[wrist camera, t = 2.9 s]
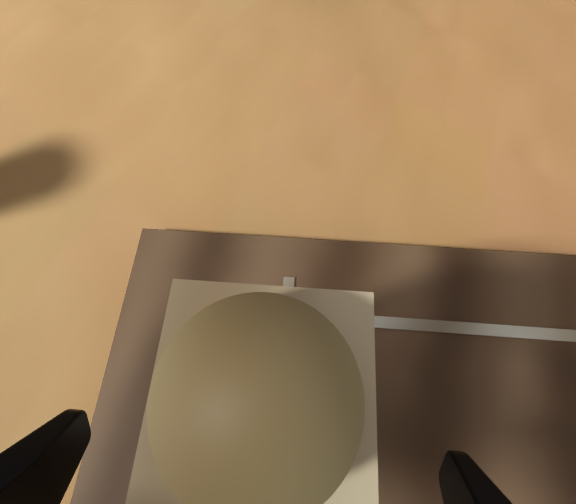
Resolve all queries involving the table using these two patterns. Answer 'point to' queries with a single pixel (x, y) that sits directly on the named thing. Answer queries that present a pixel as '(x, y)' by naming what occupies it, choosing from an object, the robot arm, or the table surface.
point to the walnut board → (384, 356)
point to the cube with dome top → (260, 398)
